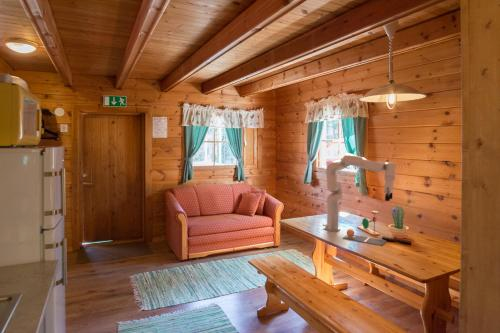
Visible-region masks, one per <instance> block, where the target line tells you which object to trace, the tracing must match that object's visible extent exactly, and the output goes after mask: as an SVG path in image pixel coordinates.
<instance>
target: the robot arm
mask: <svg viewBox="0 0 500 333" xmlns="http://www.w3.org/2000/svg"><path fill="white" fill-rule="evenodd" d="M349 166H353V167H358V168H362V169H364V170H368V171H371V172H376V173H379V172H380V173H381V172H383V171H384V176H383V177H384V187H383V188H384V189H383V192H384V193H385V195H384V198H385V199H384V201H385V202H390V200H393V192H394V181H396V180H395V179H396V178H395V177H396V163H395V162H386V161H385V162H384V161H373V160H370V159H367V158H365V157H363V156H361V155H360V156H359V155H356V154H353V153H346V154H344V156H343V157H342V158H341V159H338V160H333V161H331V162H330V163H328V165H327V167H326V169H325V173H326V174H325V175H326V186H327V190H328V192H329V193H330V194H328V195H327V197H326V207H327V208H326V211H327V213H326V223H322V226H323V227H324V230H326V231H327V232H328V231H329V232H340V231H341V228H340V227H339V213H340V212H339V203H341V202H342V200H343V186H342V183H341V181H340V180H338V177H337V172H339V171H342V170H344V169H346V168H348V167H349Z"/></svg>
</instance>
